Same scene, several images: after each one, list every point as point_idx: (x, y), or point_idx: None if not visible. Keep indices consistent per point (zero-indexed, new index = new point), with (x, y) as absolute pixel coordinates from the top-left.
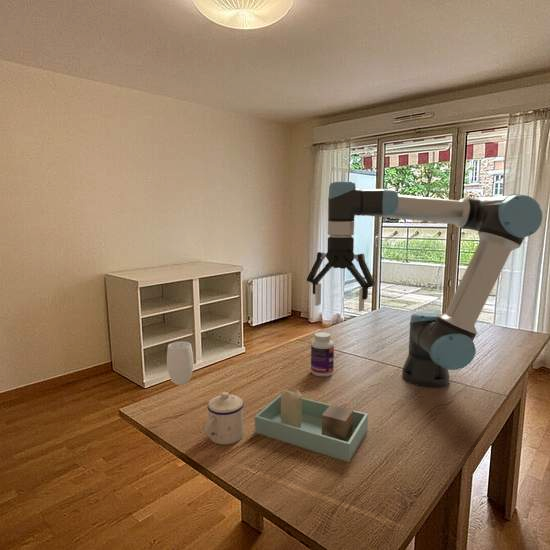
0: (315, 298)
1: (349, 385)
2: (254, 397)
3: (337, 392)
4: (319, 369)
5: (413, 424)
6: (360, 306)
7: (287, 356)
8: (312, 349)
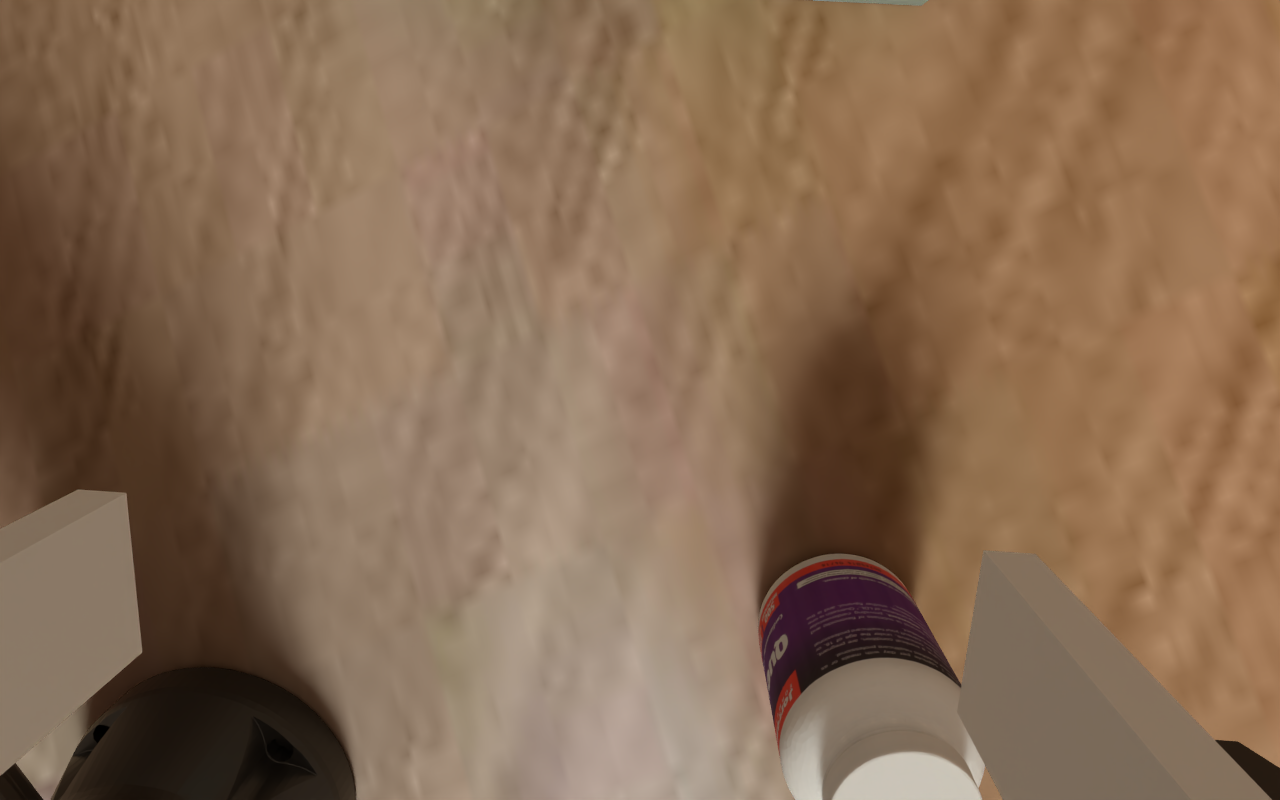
0: (1102, 633)
1: (611, 513)
2: (1167, 71)
3: (654, 387)
4: (841, 572)
5: (146, 187)
6: (27, 523)
7: None
8: (945, 667)
